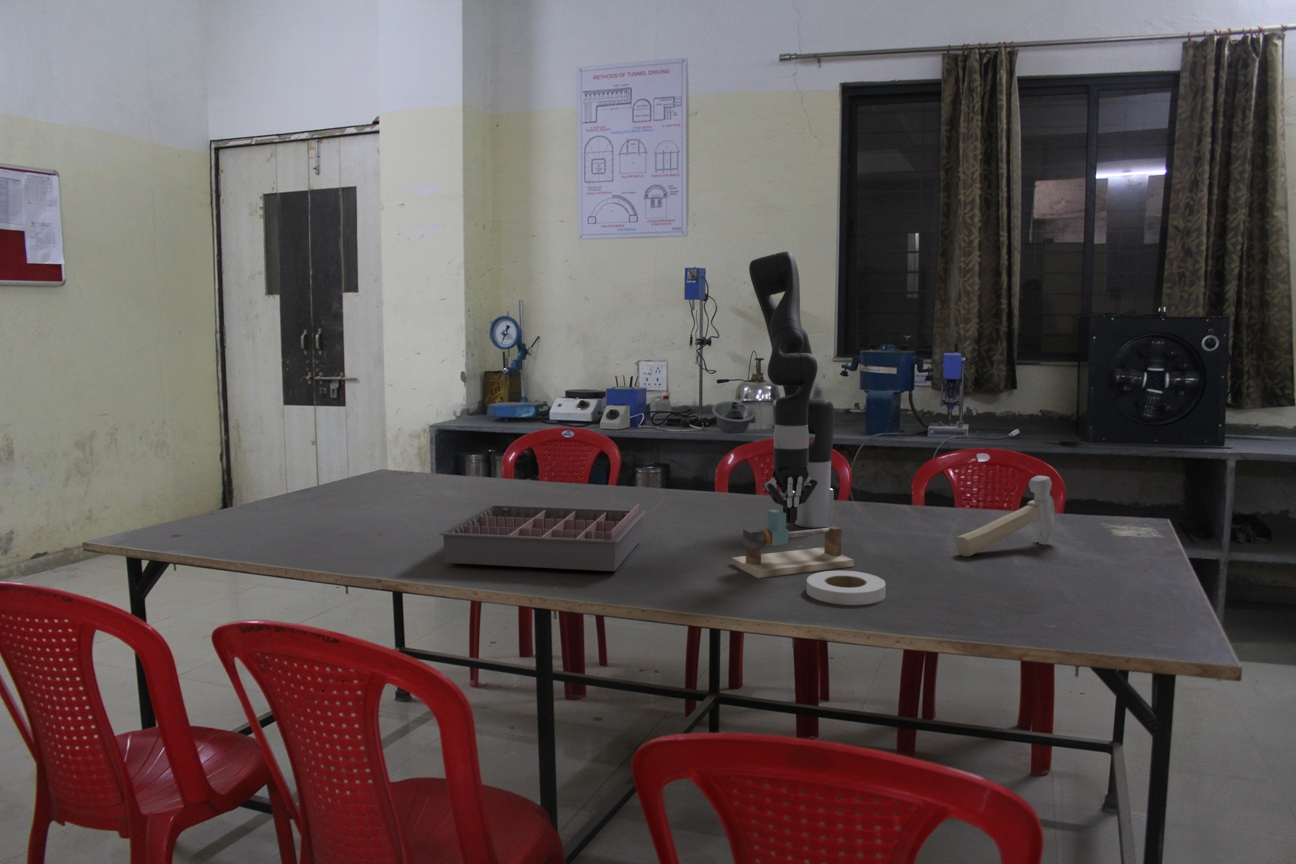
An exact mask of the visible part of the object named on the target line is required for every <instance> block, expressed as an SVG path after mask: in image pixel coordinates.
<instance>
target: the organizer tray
mask: <svg viewBox="0 0 1296 864" xmlns="http://www.w3.org/2000/svg"><path fill="white" fill-rule="evenodd" d="M646 513H647V511H646V510H640V503H637V504H636V505H635V506H634V507H633V508H632V509H609V508H585V507H582V508H581V507H560V506H559V507H555V506H554V507H553V506H533V505H532V506H531V505H530V506H529V505H510V504H507V505H506V504H505V505H503V504H490V505H488V506H486V507H484V508H483V509H481V510H479V511H477V512H475V513H474V514H472V515H470V516H469V517H466V518H465V519H463V520H462V521H459V522H458V523H456V524H454V525H453V526H451V527H449V528H447V529H445V530H444V531H442V532H440V533H439V536H442V537H443V563H444V564H445V563H447V564H464V565H465V564H466V565H485V566H503V567H505V566H506V567H523V568H525V567H526V568H543V569H544V568H545V569H564V570H565V569H566V570H580V571H582V570H583V571H585V570H586V571H605V572H606V571H607V572H616V571H617V570H618V568H619V567H620V566H621V565H622V563H623V562H624V561H625V560H626V558H628V557H629V555H630V553H632V551H633V550H634V549H635V548H636V546H637V545H638V544H639V542H641V541H642V539H643V532H644V530H643V529H644V528H643V527H644V524H643V523H644V521H643V520H644V518H643V517H644V515H645V514H646Z"/></svg>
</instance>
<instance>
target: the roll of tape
mask: <svg viewBox="0 0 1296 864" xmlns="http://www.w3.org/2000/svg"><path fill="white" fill-rule="evenodd" d="M805 588H806V591H805V592H806V594H807V595H808V596H809V597H811V598H812V599H814V600H817V601H820V602H825V603H829V604H837V605H845V606H847V605H848V606H857V605H861V606H862V605H871V604H876V603H879V602H881V601H884V599H885V598H886V588H887V587H886V581H885V579H884V578H881V577H879V576H877V575H875V574H874V575H873V574H871V573H867V572H862V571H855V570H854V571H853V570H824V571H820V572H816V573H813V574H811V575H810V574H809V576H808V577H807V578H806V587H805Z"/></svg>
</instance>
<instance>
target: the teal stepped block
mask: <svg viewBox="0 0 1296 864" xmlns="http://www.w3.org/2000/svg"><path fill="white" fill-rule="evenodd" d="M764 529H768V530H769V531H770V533H771V543H770V544H769V545H770V546H773V547H774V546H782V545H788V544H789V537H788V532H789V529H788V528H787V523H786V513H784V512H783V511H781V510H779V509H768V510H767V527H765V528H764Z"/></svg>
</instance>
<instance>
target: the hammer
mask: <svg viewBox="0 0 1296 864" xmlns="http://www.w3.org/2000/svg"><path fill="white" fill-rule="evenodd" d="M1052 484H1053V482H1052V480H1051V478H1050V476H1046V475H1035V476H1034V477H1032V478H1031V479H1030V480H1029V481H1028V487H1029V489H1030V492H1031V493H1033V494H1034V499H1031V500H1030V501H1028V502H1027V505H1025V506H1022V507H1021V508H1019V509H1017V510H1015V511H1012V512H1011V513H1008V514H1006V515H1003V516H1001V517H999V518H997V519H995V520H993V521H991V522H989V523H987V524H985V525H982V526H981V527H979V528H977V529H974V530H972V531H969V532H966V533H963V534H961V535H957V536H956V538H955V546H956V547H955V548H956V549H957V553H959V554H960V555H962V556H963V557H965V558H966V557H971V556H973V555H974V554H977V553H978V552H980V551H983V550H984V549H986V548H988V547H990V546H992V545H994V544H996V543H998V542H1001V541H1002V540H1004V539H1005V538H1008V537H1009V536H1011V535H1012V534H1014V533H1016V532H1017V531H1019V530H1021V529H1022V528H1025V527H1026V526H1029V524H1032V523H1034V528H1033V529H1034V531H1033V535H1032V537H1031V539H1030V542H1031V543H1032V542H1033V543H1038V544H1041V545H1044V546H1046V545H1048V542H1049V540H1050V539H1051V538H1052V537H1053V534H1054V531H1055V523H1056V517H1057V515H1056V507H1055V506H1056V505H1055V500H1054V498H1053V497H1052V495H1051V493H1050V492H1051V491H1052ZM1038 541H1039V542H1038Z"/></svg>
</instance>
